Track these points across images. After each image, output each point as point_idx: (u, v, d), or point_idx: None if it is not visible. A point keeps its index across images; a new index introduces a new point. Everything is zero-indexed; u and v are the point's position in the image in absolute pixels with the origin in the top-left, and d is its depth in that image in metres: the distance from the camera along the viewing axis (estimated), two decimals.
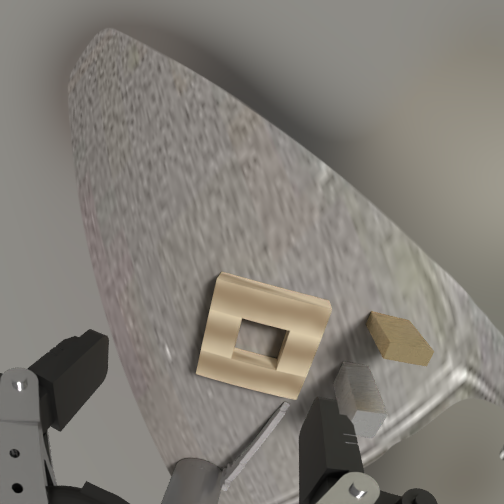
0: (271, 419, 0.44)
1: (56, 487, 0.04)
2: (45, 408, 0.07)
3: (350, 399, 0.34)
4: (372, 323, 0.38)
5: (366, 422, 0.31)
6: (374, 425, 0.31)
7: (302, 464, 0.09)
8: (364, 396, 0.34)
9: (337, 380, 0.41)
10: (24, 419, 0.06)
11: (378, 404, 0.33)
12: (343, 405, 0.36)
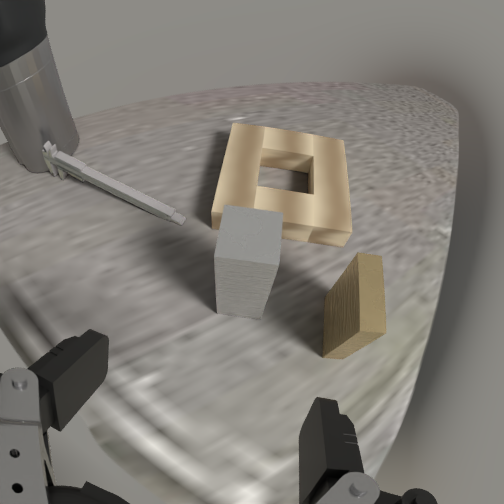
0: None
1: (56, 487, 0.04)
2: (45, 408, 0.07)
3: None
4: None
5: (257, 233, 0.21)
6: (248, 248, 0.20)
7: (302, 464, 0.09)
8: None
9: None
10: (24, 419, 0.06)
11: None
12: None
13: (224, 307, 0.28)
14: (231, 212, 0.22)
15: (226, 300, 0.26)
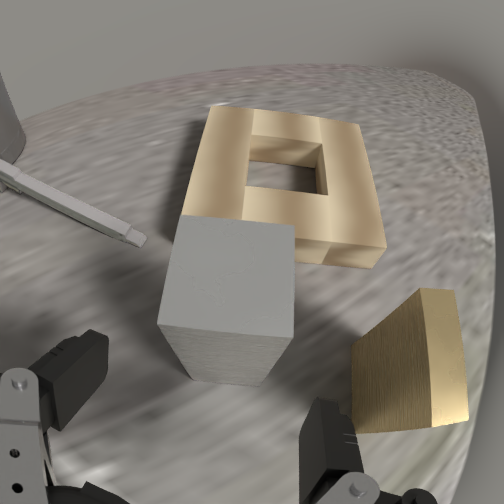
0: None
1: (56, 487, 0.04)
2: (45, 408, 0.07)
3: None
4: None
5: (246, 269, 0.10)
6: (227, 305, 0.10)
7: (302, 464, 0.09)
8: None
9: None
10: (24, 419, 0.06)
11: None
12: None
13: (201, 376, 0.17)
14: (193, 229, 0.11)
15: (202, 371, 0.15)
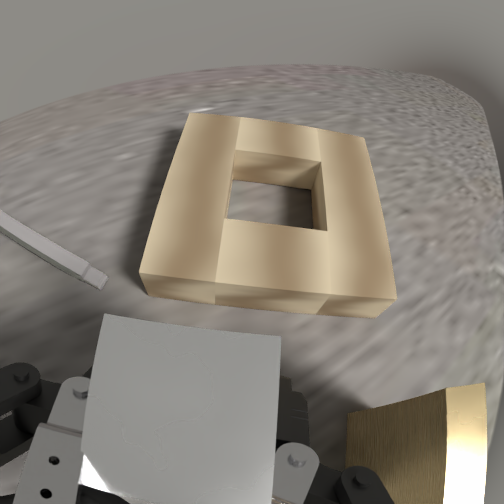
0: None
1: (90, 500, 0.04)
2: None
3: None
4: None
5: (200, 416, 0.06)
6: (172, 469, 0.05)
7: None
8: None
9: None
10: (76, 428, 0.06)
11: None
12: None
13: None
14: (122, 341, 0.06)
15: None
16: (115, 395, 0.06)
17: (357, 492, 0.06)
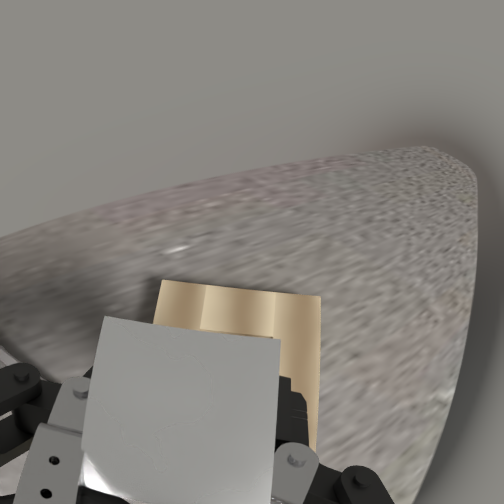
0: None
1: (91, 500, 0.04)
2: None
3: None
4: None
5: (200, 418, 0.06)
6: (172, 472, 0.05)
7: None
8: None
9: None
10: (76, 429, 0.06)
11: None
12: None
13: None
14: (122, 343, 0.06)
15: None
16: (115, 397, 0.06)
17: (356, 492, 0.06)
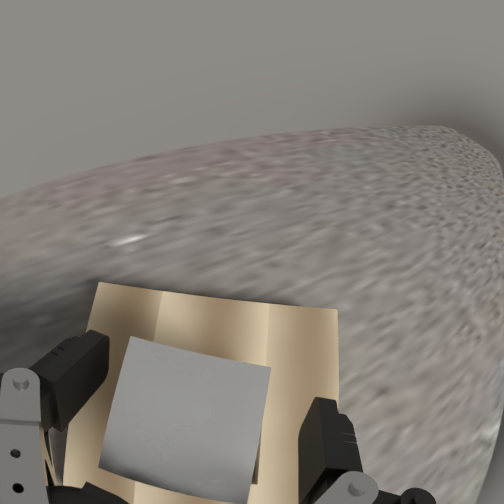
0: None
1: (57, 487, 0.04)
2: (46, 408, 0.07)
3: None
4: None
5: (201, 424, 0.07)
6: (175, 463, 0.07)
7: (301, 463, 0.09)
8: None
9: None
10: (25, 419, 0.06)
11: None
12: None
13: None
14: (144, 359, 0.08)
15: None
16: (135, 402, 0.08)
17: None
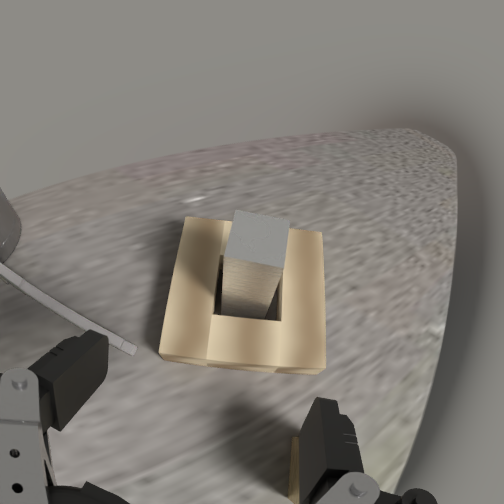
0: None
1: (56, 487, 0.04)
2: (45, 408, 0.07)
3: None
4: None
5: (265, 237, 0.22)
6: (256, 251, 0.22)
7: (302, 464, 0.09)
8: None
9: None
10: (24, 419, 0.06)
11: None
12: None
13: (228, 309, 0.29)
14: (241, 217, 0.23)
15: (231, 302, 0.27)
16: (239, 230, 0.23)
17: None
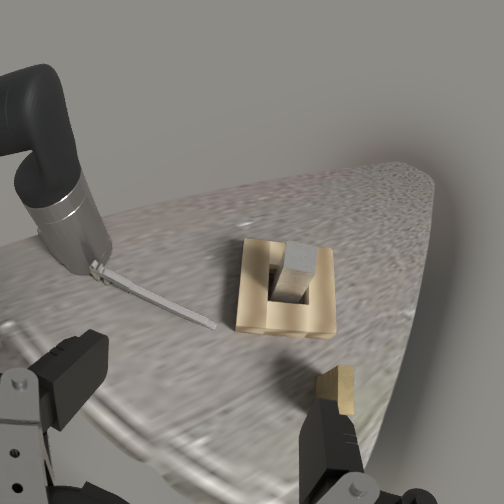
0: None
1: (56, 487, 0.04)
2: (45, 408, 0.07)
3: None
4: None
5: (304, 256, 0.40)
6: (300, 264, 0.40)
7: (302, 464, 0.09)
8: None
9: None
10: (24, 419, 0.06)
11: None
12: None
13: (276, 298, 0.47)
14: (290, 244, 0.41)
15: (279, 293, 0.45)
16: (290, 252, 0.40)
17: None
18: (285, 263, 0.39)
